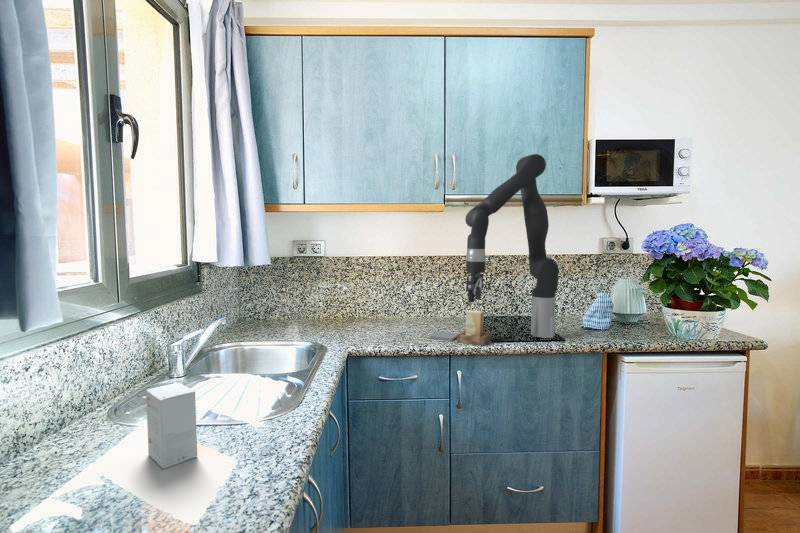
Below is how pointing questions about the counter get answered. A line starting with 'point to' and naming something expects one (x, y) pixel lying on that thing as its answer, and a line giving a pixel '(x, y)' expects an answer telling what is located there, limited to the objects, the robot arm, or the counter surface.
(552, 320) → the robot arm
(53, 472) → the counter surface
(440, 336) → the grey flat plate
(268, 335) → the counter surface
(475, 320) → the skincare box
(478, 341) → the walnut holder
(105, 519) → the counter surface
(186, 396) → the small box
